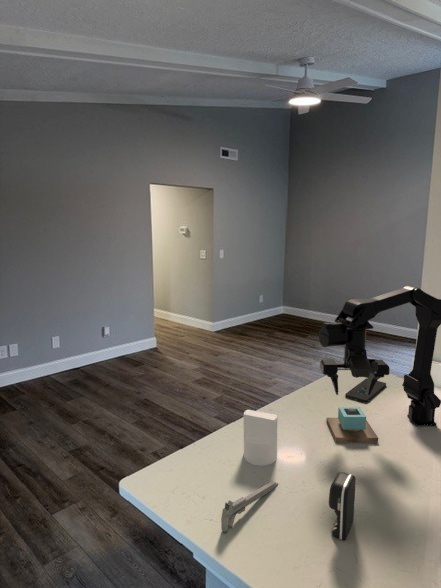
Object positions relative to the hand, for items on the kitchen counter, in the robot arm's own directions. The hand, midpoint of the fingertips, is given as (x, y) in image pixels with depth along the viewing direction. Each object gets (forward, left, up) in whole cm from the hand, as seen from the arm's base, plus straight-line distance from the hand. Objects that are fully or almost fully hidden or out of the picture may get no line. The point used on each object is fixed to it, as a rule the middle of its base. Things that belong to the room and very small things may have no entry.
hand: (352, 394), depth 119 cm
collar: (0, 0, -9) cm, 9 cm away
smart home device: (-14, -30, -13) cm, 35 cm away
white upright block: (+28, +13, -12) cm, 33 cm away
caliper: (+31, +33, -12) cm, 47 cm away
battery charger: (+13, +39, -12) cm, 43 cm away
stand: (0, 0, -12) cm, 12 cm away
